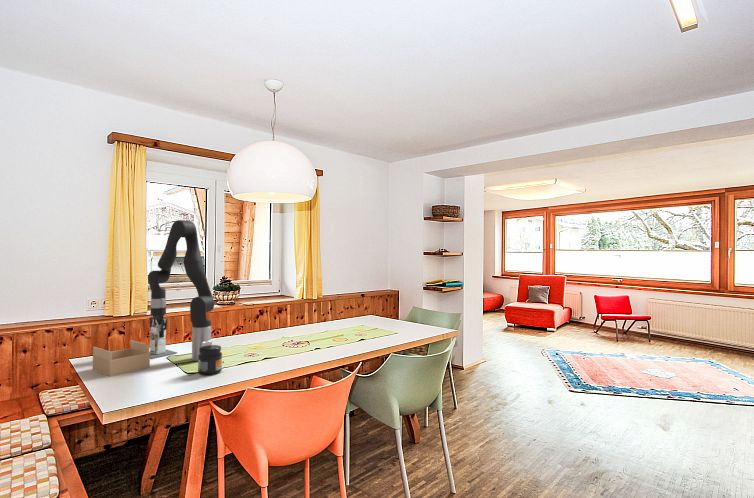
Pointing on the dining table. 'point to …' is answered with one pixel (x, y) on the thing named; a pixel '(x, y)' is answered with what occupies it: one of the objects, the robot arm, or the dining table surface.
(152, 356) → the mat
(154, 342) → the syrup box
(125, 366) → the carton
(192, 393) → the dining table surface
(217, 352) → the supplement container
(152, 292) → the robot arm
